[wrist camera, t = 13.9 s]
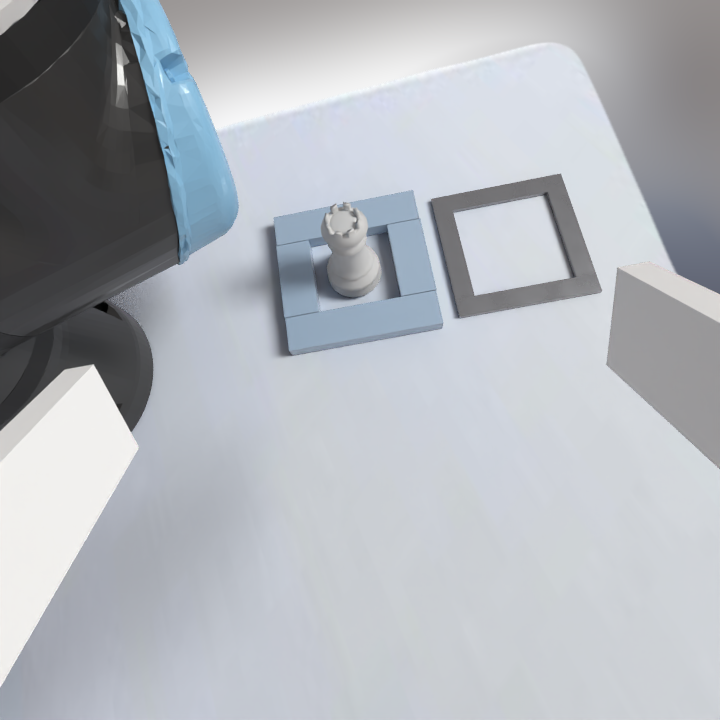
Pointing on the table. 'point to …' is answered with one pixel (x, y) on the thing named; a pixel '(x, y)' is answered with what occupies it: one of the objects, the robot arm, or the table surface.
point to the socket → (364, 320)
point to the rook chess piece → (350, 252)
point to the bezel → (522, 296)
